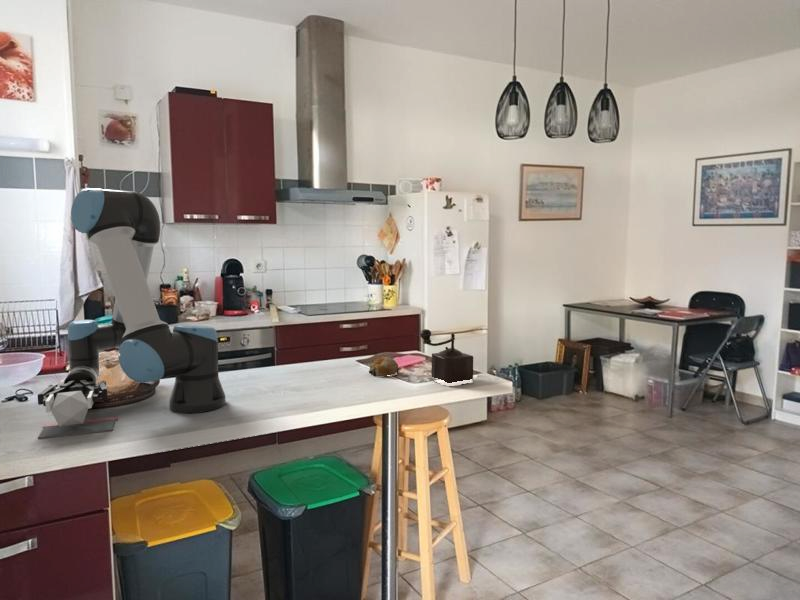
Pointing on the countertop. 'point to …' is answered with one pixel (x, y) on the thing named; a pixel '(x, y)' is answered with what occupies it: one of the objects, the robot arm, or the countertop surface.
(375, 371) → the mottled brown round lump
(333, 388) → the countertop surface
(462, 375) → the manual coffee grinder
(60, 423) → the die
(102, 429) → the mat
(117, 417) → the line
